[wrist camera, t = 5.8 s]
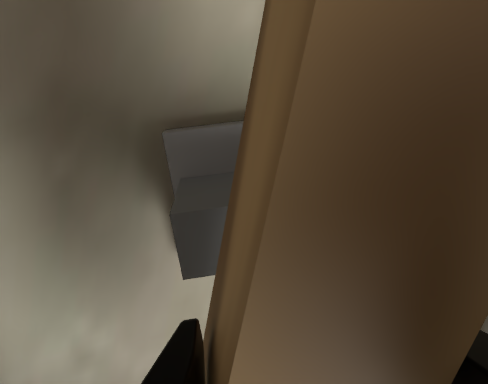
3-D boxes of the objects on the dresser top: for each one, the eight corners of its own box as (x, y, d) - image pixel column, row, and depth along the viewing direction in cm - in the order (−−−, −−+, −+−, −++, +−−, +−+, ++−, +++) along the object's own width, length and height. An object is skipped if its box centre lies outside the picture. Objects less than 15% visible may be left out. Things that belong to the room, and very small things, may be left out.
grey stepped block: (189, 256, 19) (181, 328, 13) (165, 130, 16) (142, 152, 11) (327, 236, 20) (375, 296, 14) (325, 110, 17) (384, 121, 11)
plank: (172, 511, 12) (156, 701, 8) (307, -228, 5) (529, -938, 2) (267, 507, 13) (292, 682, 9) (491, -155, 6) (947, -548, 2)
